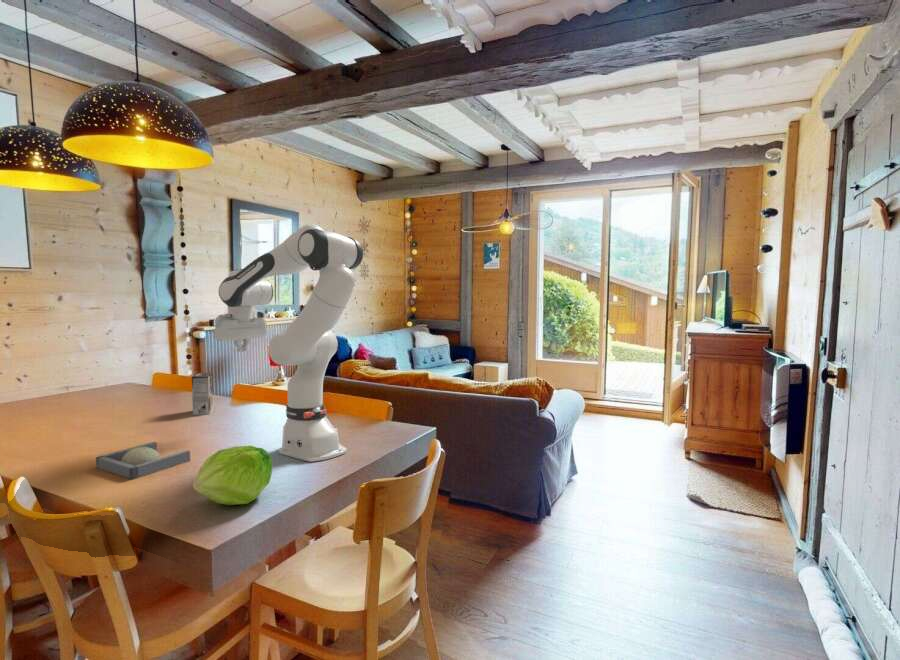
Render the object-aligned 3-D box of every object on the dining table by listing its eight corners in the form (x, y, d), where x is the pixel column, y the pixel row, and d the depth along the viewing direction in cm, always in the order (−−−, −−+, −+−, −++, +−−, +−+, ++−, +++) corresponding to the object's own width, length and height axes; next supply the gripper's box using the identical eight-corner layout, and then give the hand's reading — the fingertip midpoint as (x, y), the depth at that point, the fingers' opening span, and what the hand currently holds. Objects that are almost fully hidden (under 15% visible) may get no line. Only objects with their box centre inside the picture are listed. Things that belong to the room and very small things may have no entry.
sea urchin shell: (153, 450, 146) (158, 435, 141) (159, 473, 142) (164, 459, 137) (116, 457, 139) (120, 442, 134) (121, 481, 135) (125, 467, 131)
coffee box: (196, 410, 203) (195, 372, 201) (213, 409, 205) (212, 372, 203) (192, 415, 194) (190, 376, 193) (209, 414, 196) (208, 376, 195)
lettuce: (175, 516, 108) (173, 455, 110) (249, 497, 125) (246, 444, 128) (217, 514, 101) (214, 449, 103) (289, 494, 119) (285, 439, 121)
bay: (154, 450, 150) (153, 441, 150) (190, 460, 142) (189, 450, 142) (96, 467, 136) (95, 457, 136) (132, 479, 128) (132, 468, 127)
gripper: (221, 315, 162) (222, 355, 163) (269, 313, 180) (269, 349, 181) (209, 314, 165) (210, 353, 166) (257, 312, 183) (258, 348, 184)
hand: (241, 351), depth 174 cm, fingers closed
